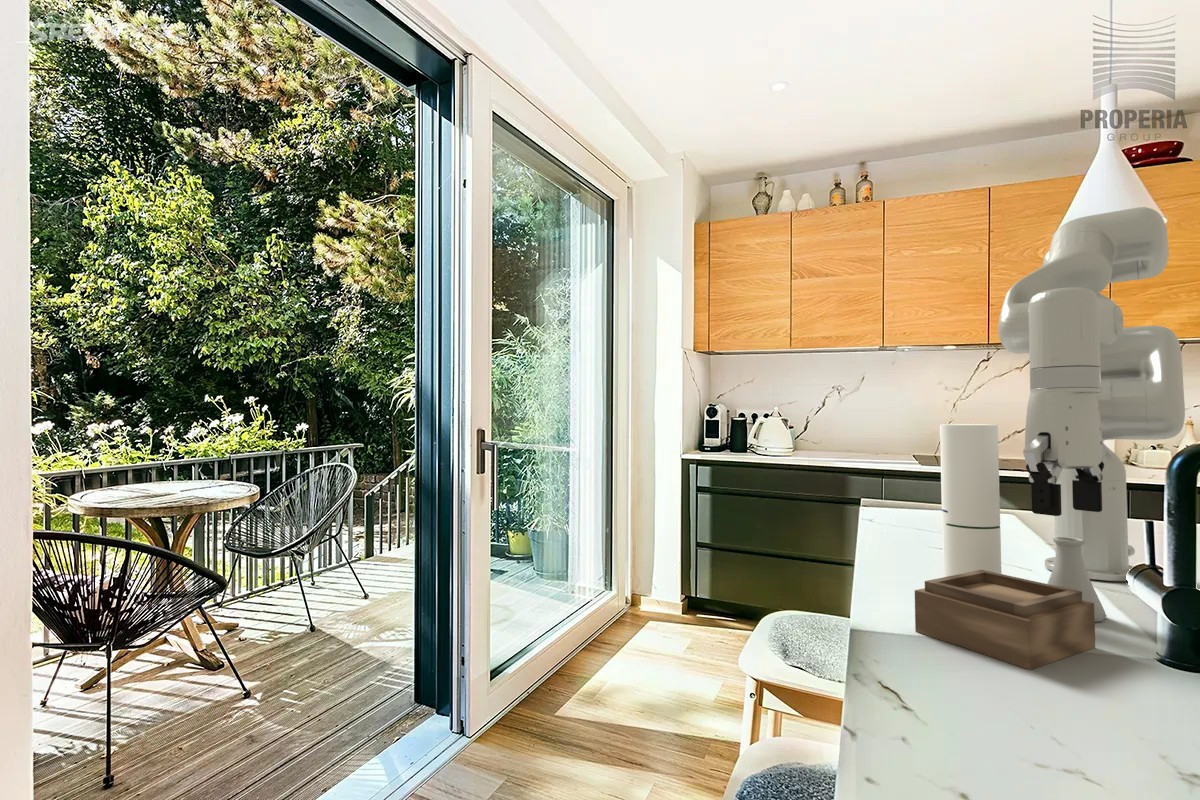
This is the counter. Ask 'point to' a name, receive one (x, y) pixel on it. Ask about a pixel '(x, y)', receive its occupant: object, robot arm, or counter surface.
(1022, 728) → the counter surface
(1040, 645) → the tray
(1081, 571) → the flask
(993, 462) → the cylindrical container
